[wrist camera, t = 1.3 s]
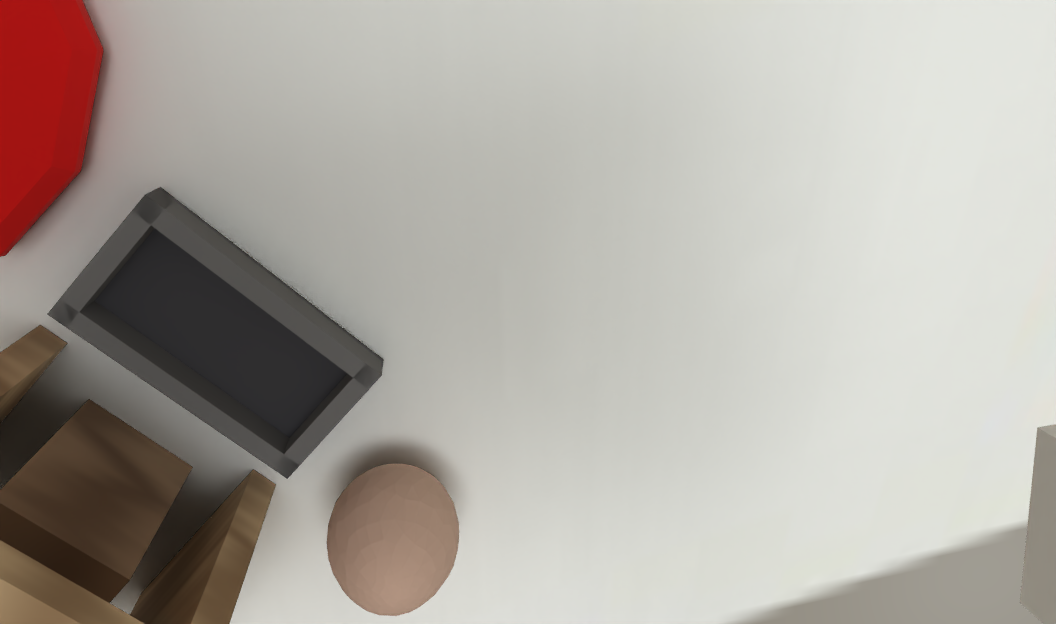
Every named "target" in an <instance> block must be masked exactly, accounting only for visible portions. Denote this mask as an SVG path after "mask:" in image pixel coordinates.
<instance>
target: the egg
mask: <svg viewBox="0 0 1056 624" xmlns="http://www.w3.org/2000/svg"><path fill="white" fill-rule="evenodd" d="M458 542H459V523H458V519H457V515H456V511H455V507H454V503H453V501H452V499H451V498H450V496H449V494H448V493H447V491H446V489H445V487H444V486H443V485H442V484H441V483H440V482H439V481H438V480H437V479H436V478H435V477H434V476H433V475H431V474H429V473H428V472H426V471H424V470H422V469H420V468H419V467H415V466H411V465H407V464H384V465H380V466H377V467H374V468H372V469H369V470H368V471H366V472H364V473H363V474H361V475H359V476H358V477H357V478H355V479H354V480H353V481H352V482H351V483H350V484H349V485H348V486H347V487H346V489H345V490H344V491H343V492H342V494H341V495H340V497H339V498H338V500H337V501H336V503H335V506H334V509H333V512H332V515H331V518H330V521H329V524H328V535H327V549H328V558H329V562H330V565H331V568H332V572H333V574H334V576H335V578H336V579H337V581H338V583H339V584H340V586H341V588H342V590H343V591H344V592H345V594H346V595H347V596H348V597H349V598H350V599H351V600H352V601H354V602H355V603H356V604H357V605H359V606H360V607H362V608H363V609H365V610H366V611H369V612H372V613H375V614H378V615H390V616H397V615H401V614H405V613H409V612H411V611H413V610H415V609H417V608H418V607H420V606H421V605H423V604H424V603H425V602H427V601H428V600H429V599H430V598H432V597H433V596H434V595H435V594H436V592H437V591H438V590H439V588H440V587H441V585H442V584H443V583H444V581H445V580H446V579H447V577H448V576H449V574H450V572H451V570H452V568H453V566H454V562H455V558H456V554H457V550H458Z"/></svg>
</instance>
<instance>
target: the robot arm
mask: <svg viewBox="0 0 1056 624" xmlns="http://www.w3.org/2000/svg"><path fill="white" fill-rule="evenodd" d="M1020 603H1021V604H1022V605H1023V606H1024V607H1025V608H1026V609H1027V610H1028V611H1029V612H1031V613H1032V614H1033V615H1034V616H1035V617H1036V618H1037V619H1038V620H1040V621H1041V622H1042V623H1043V624H1056V425H1050V426H1044V427H1038V428H1037V437H1036V447H1035V457H1034V467H1033V477H1032V487H1031V497H1030V506H1029V516H1028V526H1027V536H1026V546H1025V557H1024V566H1023V576H1022V586H1021V596H1020Z"/></svg>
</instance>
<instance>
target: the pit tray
mask: <svg viewBox="0 0 1056 624" xmlns="http://www.w3.org/2000/svg"><path fill="white" fill-rule="evenodd" d="M48 315H49V316H50V317H52V318H53V319H55V320H56V321H58V322H59V323H61V324H62V325H64V326H65V327H67V328H68V329H69V330H71V331H72V332H74V333H75V334H77V335H78V336H80V337H81V338H83V339H84V340H86V341H87V342H88V343H90V344H91V345H93V346H94V347H96V348H97V349H99V350H100V351H102V352H103V353H105V354H106V355H107V356H109V357H110V358H112V359H113V360H115V361H116V362H118V363H119V364H121V365H122V366H124V367H125V368H126V369H128V370H129V371H131V372H132V373H134V374H135V375H137V376H138V377H140V378H141V379H142V380H144V381H145V382H147V383H148V384H150V385H151V386H153V387H154V388H156V389H157V390H159V391H160V392H161V393H163V394H164V395H166V396H167V397H169V398H170V399H172V400H173V401H175V402H176V403H178V404H179V405H180V406H182V407H183V408H185V409H186V410H188V411H189V412H191V413H192V414H194V415H195V416H197V417H198V418H199V419H201V420H202V421H204V422H205V423H207V424H208V425H210V426H211V427H213V428H214V429H216V430H217V431H218V432H220V433H221V434H223V435H224V436H226V437H227V438H229V439H230V440H232V441H233V442H235V443H236V444H237V445H239V446H240V447H242V448H243V449H245V450H246V451H248V452H249V453H251V454H252V455H254V456H255V457H256V458H258V459H259V460H261V461H262V462H264V463H265V464H267V465H268V466H270V467H271V468H273V469H274V470H275V471H277V472H278V473H280V474H281V475H283V476H284V477H286V478H287V479H288V478H289V476H290V475H291V474H292V473H293V472H294V471H295V470H296V469H297V468H298V467H299V465H300V464H301V463H302V462H303V461H304V460H305V459H306V458H307V457H308V456H309V455H310V453H311V452H312V451H313V450H314V449H315V448H316V447H317V446H318V445H319V444H320V442H321V441H322V440H323V439H324V438H325V437H326V436H327V435H328V434H329V433H330V431H331V430H332V429H333V428H334V427H335V426H336V425H337V424H338V423H339V422H340V420H341V419H342V418H343V417H344V416H345V415H346V414H347V413H348V412H349V411H350V410H351V408H352V407H353V406H354V405H355V404H356V403H357V402H358V401H359V400H360V399H361V397H362V396H363V395H364V394H365V393H366V392H367V391H368V390H369V389H370V388H371V386H372V385H373V384H374V383H375V382H376V381H377V380H378V379H379V378H380V377H381V376H382V367H383V359H382V358H381V357H379V356H378V355H377V354H375V353H374V352H373V351H372V350H370V349H369V348H368V347H366V346H365V345H364V344H362V343H361V342H360V341H359V340H357V339H356V338H355V337H353V336H352V335H351V334H350V333H348V332H347V331H346V330H344V329H343V328H342V327H341V326H339V325H338V324H337V323H335V322H334V321H333V320H331V319H330V318H329V317H328V316H326V315H325V314H324V313H322V312H321V311H320V310H319V309H317V308H316V307H315V306H313V305H312V304H311V303H310V302H308V301H307V300H306V299H304V298H303V297H302V296H300V295H299V294H298V293H297V292H295V291H294V290H293V289H291V288H290V287H289V286H288V285H286V284H285V283H284V282H282V281H281V280H280V279H279V278H277V277H276V276H275V275H273V274H272V273H271V272H269V271H268V270H267V269H266V268H264V267H263V266H262V265H260V264H259V263H258V262H257V261H255V260H254V259H253V258H251V257H250V256H249V255H247V254H246V253H245V252H244V251H242V250H241V249H240V248H238V247H237V246H236V245H235V244H233V243H232V242H231V241H229V240H228V239H227V238H226V237H224V236H223V235H222V234H220V233H219V232H218V231H216V230H215V229H214V228H213V227H211V226H210V225H209V224H207V223H206V222H205V221H204V220H202V219H201V218H200V217H198V216H197V215H196V214H195V213H193V212H192V211H191V210H189V209H188V208H187V207H185V206H184V205H183V204H182V203H180V202H179V201H178V200H176V199H175V198H174V197H173V196H171V195H170V194H169V193H167V192H166V191H165V190H164V189H162V188H161V187H160V188H158V189H156V190H154V191H152V192H150V193H148V194H146V195H145V196H144V197H143V198H142V199H141V201H140V202H139V203H138V204H137V205H136V207H135V208H134V209H133V210H132V212H131V213H130V214H129V215H128V216H127V218H126V219H125V220H124V221H123V223H122V224H121V225H120V226H119V227H118V229H117V230H116V231H115V232H114V233H113V235H112V236H111V237H110V238H109V240H108V241H107V242H106V243H105V244H104V246H103V247H102V248H101V249H100V251H99V252H98V253H97V254H96V255H95V257H94V258H93V259H92V260H91V261H90V263H89V264H88V265H87V266H86V268H85V269H84V270H83V271H82V272H81V274H80V275H79V276H78V277H77V279H76V280H75V281H74V282H73V283H72V285H71V286H70V287H69V288H68V290H67V291H66V292H65V293H64V294H63V296H62V297H61V298H60V299H59V300H58V302H57V303H56V304H55V305H54V307H53V308H52V309H51V310H50V311H49V313H48Z"/></svg>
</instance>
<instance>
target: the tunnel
mask: <svg viewBox="0 0 1056 624" xmlns="http://www.w3.org/2000/svg"><path fill="white" fill-rule="evenodd" d="M66 344H67V343H66V342H65V341H63V340H62V339H60V338H59V337H57V336H56V335H54V334H53V333H51V332H50V331H48V330H47V329H45V328H44V327H43V326H41V325H39V326H38V327H37V328H35V329H34V330H32V331H31V332H29V333H28V334H26V335H25V336H24V337H22V338H21V339H19V340H18V341H16V342H15V343H13V344H12V345H11V346H9V347H8V348H6V349H5V350H3V351H2V352H0V424H1V423H2V421H3V420H4V419H5V418H6V417H7V415H8V414H9V413H10V412H11V411H12V409H13V408H14V407H15V406H16V405H17V403H18V402H19V401H20V400H21V399H22V397H23V396H24V395H25V394H26V393H27V391H28V390H29V389H30V388H31V387H32V385H33V384H34V383H35V382H36V381H37V379H38V378H39V377H40V376H41V375H42V373H43V372H44V371H45V370H46V369H47V367H48V366H49V365H50V364H51V362H52V361H53V360H54V359H55V358H56V356H57V355H58V354H59V353H60V352H61V350H62V349H63V348H64V347H65V346H66ZM275 486H276V484H274V483H273V482H271V481H270V480H268V479H267V478H265V477H264V476H262V475H261V474H259V473H258V472H256V471H255V470H252V471H251V472H250V473H249V475H248V476H247V477H246V478H245V479H244V480H243V481H242V482H241V483H240V485H239V486H238V487H237V488H236V489H235V490H234V491H233V492H232V493H231V495H230V496H229V497H228V498H227V499H226V500H225V501H224V502H223V503H222V505H221V506H220V507H219V508H218V509H217V510H216V511H215V512H214V513H213V515H212V516H211V517H210V518H209V519H208V520H207V521H206V522H205V523H204V525H203V526H202V527H201V528H200V529H199V530H198V531H197V532H196V533H195V535H194V536H193V537H192V538H191V539H190V540H189V541H188V542H187V543H186V545H185V546H184V547H183V548H182V549H181V550H180V551H179V552H178V553H177V555H176V556H175V557H174V558H173V559H172V560H171V561H170V562H169V563H168V565H167V566H166V567H165V568H164V569H163V570H162V571H161V572H160V573H159V574H158V576H157V577H156V578H155V579H154V580H153V581H152V582H151V583H150V584H149V586H148V587H147V588H146V589H145V590H144V591H143V592H142V593H141V595H140V597H139V599H138V601H137V603H136V604H135V606H134V608H133V610H132V612H131V614H130V615H129V614H127V613H125V612H124V611H122V610H120V609H118V608H117V607H115V606H113V605H111V604H110V603H108V602H106V601H105V600H103V599H101V598H99V597H98V596H96V595H94V594H92V593H91V592H89V591H87V590H86V589H84V588H82V587H80V586H79V585H77V584H75V583H73V582H72V581H70V580H68V579H67V578H65V577H63V576H61V575H60V574H58V573H56V572H55V571H53V570H51V569H49V568H48V567H46V566H44V565H42V564H41V563H39V562H37V561H36V560H34V559H32V558H30V557H29V556H27V555H25V554H23V553H22V552H20V551H18V550H17V549H15V548H13V547H11V546H10V545H8V544H6V543H4V542H3V541H1V540H0V624H229V623H230V620H231V617H232V614H233V611H234V608H235V605H236V602H237V599H238V596H239V593H240V590H241V587H242V584H243V581H244V578H245V575H246V572H247V569H248V566H249V563H250V560H251V557H252V554H253V551H254V548H255V545H256V542H257V539H258V536H259V533H260V530H261V527H262V524H263V521H264V518H265V516H266V513H267V510H268V507H269V504H270V501H271V498H272V495H273V492H274V489H275Z"/></svg>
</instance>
